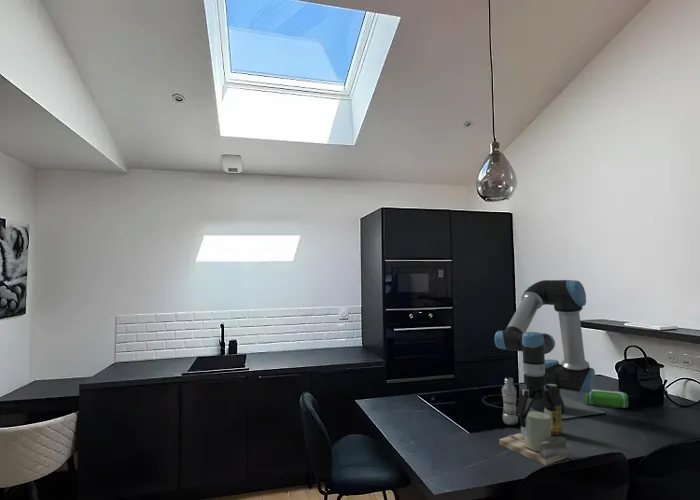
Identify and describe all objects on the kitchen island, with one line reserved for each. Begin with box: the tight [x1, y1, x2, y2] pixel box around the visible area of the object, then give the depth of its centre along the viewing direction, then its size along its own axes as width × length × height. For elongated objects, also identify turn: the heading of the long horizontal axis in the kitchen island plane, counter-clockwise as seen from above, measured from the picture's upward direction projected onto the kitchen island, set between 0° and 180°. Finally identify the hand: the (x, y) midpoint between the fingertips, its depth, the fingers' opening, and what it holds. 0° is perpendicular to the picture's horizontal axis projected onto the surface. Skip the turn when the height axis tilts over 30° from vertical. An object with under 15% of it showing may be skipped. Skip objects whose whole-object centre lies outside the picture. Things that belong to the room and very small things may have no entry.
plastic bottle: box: [501, 377, 519, 426], centre depth 178 cm, size 6×7×20 cm
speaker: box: [584, 388, 629, 409], centre depth 200 cm, size 18×7×8 cm, turn 64°
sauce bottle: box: [545, 384, 563, 436], centre depth 168 cm, size 6×6×20 cm
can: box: [524, 410, 552, 451], centre depth 150 cm, size 9×9×12 cm
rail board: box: [498, 432, 568, 466], centre depth 152 cm, size 20×12×7 cm, turn 29°
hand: (537, 431), depth 150 cm, fingers open, 13 cm apart
